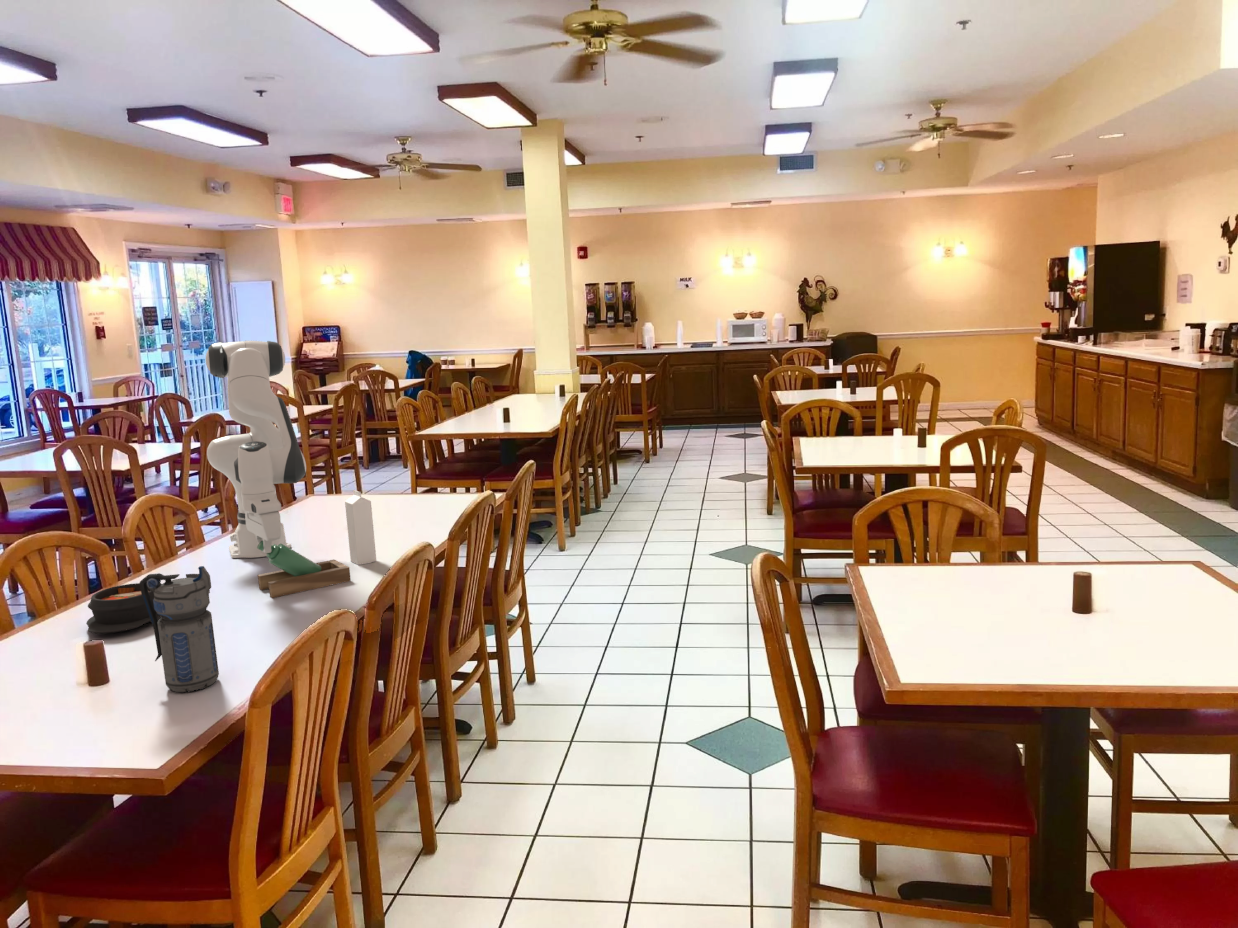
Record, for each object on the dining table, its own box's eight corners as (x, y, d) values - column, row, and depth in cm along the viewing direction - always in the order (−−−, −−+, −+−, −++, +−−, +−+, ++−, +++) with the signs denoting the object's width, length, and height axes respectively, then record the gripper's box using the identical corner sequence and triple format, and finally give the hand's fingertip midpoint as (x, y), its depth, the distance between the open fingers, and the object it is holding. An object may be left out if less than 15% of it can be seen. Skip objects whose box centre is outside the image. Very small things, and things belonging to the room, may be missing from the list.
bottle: (304, 581, 267) (250, 551, 257) (316, 563, 268) (263, 532, 258) (311, 586, 262) (257, 556, 252) (323, 567, 264) (269, 537, 254)
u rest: (259, 588, 262) (257, 574, 262) (335, 572, 275) (334, 559, 275) (272, 598, 253) (270, 583, 252) (350, 580, 266) (349, 567, 265)
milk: (358, 565, 282) (350, 494, 278) (350, 561, 287) (343, 491, 283) (377, 561, 286) (370, 490, 282) (369, 557, 291) (362, 488, 287)
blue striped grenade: (162, 679, 198) (147, 565, 194) (228, 672, 200) (214, 559, 196) (147, 698, 188) (130, 579, 184) (216, 691, 191) (201, 573, 186)
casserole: (109, 610, 249) (104, 580, 247) (182, 604, 251) (178, 574, 250) (69, 643, 224) (64, 610, 223) (151, 636, 227) (146, 602, 225)
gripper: (236, 498, 260) (242, 546, 263) (258, 509, 244) (264, 560, 246) (260, 495, 264) (265, 542, 266) (283, 505, 248) (288, 555, 250)
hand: (265, 551), depth 256 cm, fingers closed on bottle, 3 cm apart
